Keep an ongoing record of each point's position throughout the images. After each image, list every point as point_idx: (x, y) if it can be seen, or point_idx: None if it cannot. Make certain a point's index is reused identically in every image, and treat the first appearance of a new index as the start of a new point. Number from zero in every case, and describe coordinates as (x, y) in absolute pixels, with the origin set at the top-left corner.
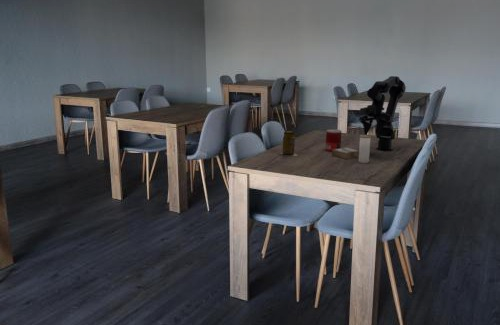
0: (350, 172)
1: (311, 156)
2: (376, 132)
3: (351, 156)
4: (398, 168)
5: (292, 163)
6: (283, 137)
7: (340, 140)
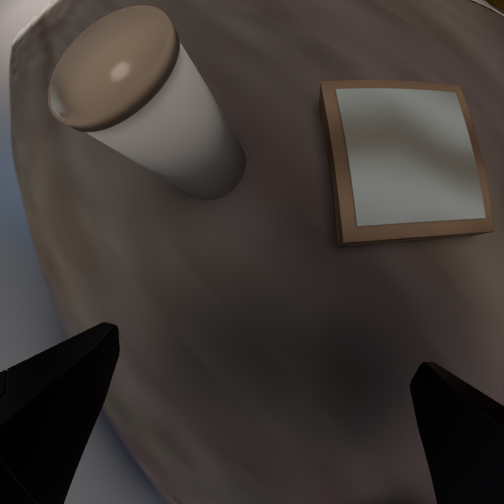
0: None
1: (448, 20)
2: (94, 333)
3: (327, 146)
4: (32, 238)
5: None
6: None
7: None
